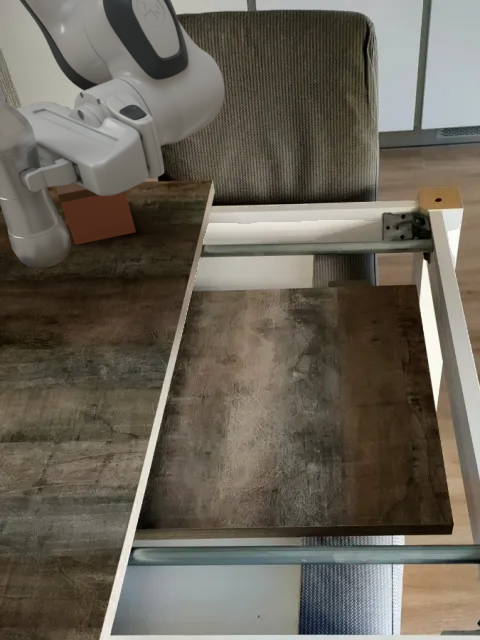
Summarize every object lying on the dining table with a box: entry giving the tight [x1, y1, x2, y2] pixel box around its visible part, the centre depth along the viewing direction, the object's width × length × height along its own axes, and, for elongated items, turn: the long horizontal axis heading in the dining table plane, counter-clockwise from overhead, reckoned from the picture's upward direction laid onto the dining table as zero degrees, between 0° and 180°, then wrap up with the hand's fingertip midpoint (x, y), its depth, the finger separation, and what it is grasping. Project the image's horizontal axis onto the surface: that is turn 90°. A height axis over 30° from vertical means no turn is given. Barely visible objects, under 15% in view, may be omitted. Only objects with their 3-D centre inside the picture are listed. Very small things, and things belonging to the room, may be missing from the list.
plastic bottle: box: [0, 81, 72, 269], centre depth 70 cm, size 6×7×20 cm
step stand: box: [55, 182, 137, 246], centre depth 98 cm, size 9×9×8 cm
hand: (6, 173), depth 69 cm, fingers closed on plastic bottle, 6 cm apart
